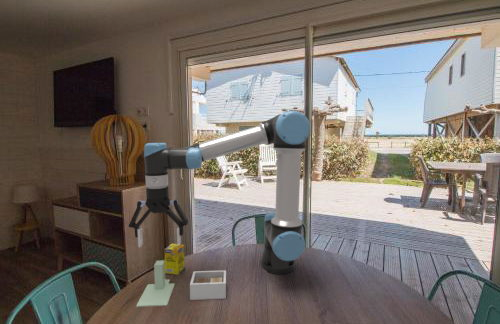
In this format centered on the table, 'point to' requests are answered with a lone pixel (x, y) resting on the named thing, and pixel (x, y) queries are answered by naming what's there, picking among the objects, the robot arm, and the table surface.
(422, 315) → the table surface
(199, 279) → the walnut cube
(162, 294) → the lid
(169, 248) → the supplement box
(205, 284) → the tub
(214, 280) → the beech cube
